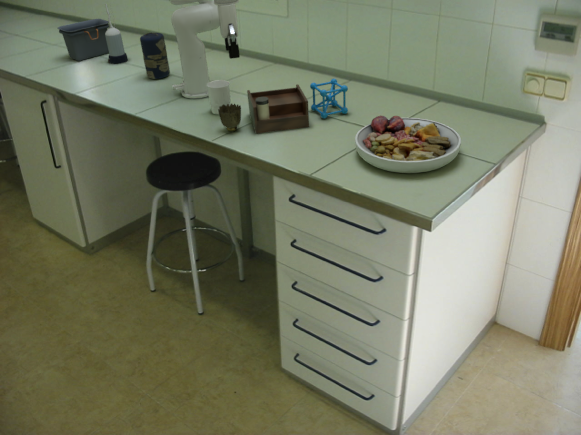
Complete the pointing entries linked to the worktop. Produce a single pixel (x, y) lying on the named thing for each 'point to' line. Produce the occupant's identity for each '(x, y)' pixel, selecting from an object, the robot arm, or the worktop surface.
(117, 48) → the humidifier
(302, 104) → the spice rack
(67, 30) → the storage bin
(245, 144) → the worktop surface
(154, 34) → the canister
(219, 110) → the brown hollow bell-shaped piece
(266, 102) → the spice jar
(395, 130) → the bowl
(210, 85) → the white cup
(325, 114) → the molecular structure
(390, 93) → the worktop surface
